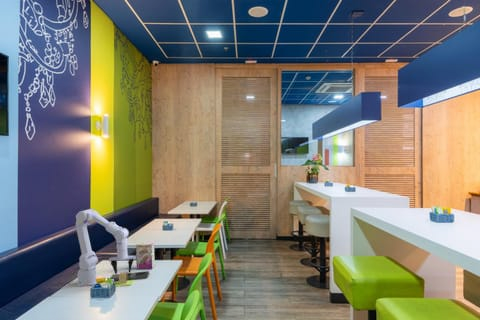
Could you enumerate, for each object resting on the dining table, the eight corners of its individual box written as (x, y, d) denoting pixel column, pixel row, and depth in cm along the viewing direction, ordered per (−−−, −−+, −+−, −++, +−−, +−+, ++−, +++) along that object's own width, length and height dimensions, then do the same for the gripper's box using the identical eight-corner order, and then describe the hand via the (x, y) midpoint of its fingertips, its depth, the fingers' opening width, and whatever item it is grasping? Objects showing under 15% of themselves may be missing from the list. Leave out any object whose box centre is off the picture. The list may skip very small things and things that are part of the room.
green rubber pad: (113, 287, 173) (113, 286, 173) (116, 282, 180) (116, 281, 180) (131, 285, 174) (131, 284, 174) (133, 280, 181) (133, 279, 181)
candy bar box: (136, 269, 201) (135, 245, 201) (139, 266, 206) (138, 243, 206) (152, 269, 200) (151, 244, 200) (155, 266, 205) (154, 242, 205)
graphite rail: (109, 282, 181) (109, 278, 181) (112, 277, 188) (112, 274, 188) (147, 278, 184) (147, 275, 184) (149, 274, 191) (149, 271, 191)
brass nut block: (119, 284, 175) (118, 275, 175) (120, 281, 179) (120, 272, 179) (126, 283, 176) (126, 274, 176) (127, 281, 180) (127, 272, 180)
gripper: (136, 246, 182) (136, 269, 182) (111, 248, 180) (111, 271, 180) (134, 250, 175) (134, 273, 175) (107, 252, 173) (108, 275, 173)
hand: (122, 272), depth 177 cm, fingers open, 7 cm apart
